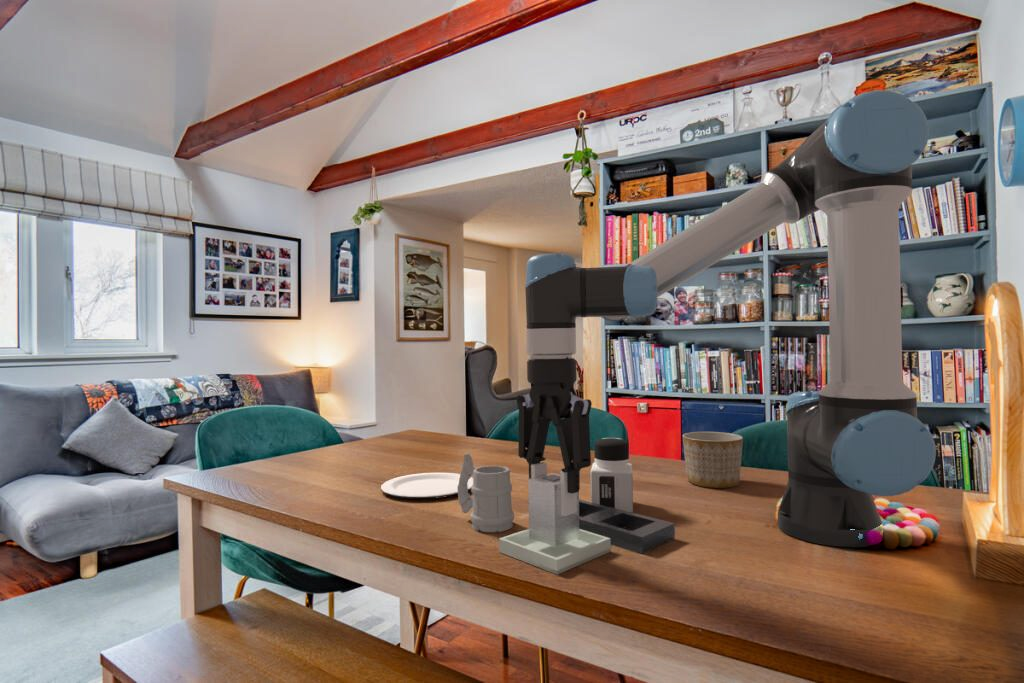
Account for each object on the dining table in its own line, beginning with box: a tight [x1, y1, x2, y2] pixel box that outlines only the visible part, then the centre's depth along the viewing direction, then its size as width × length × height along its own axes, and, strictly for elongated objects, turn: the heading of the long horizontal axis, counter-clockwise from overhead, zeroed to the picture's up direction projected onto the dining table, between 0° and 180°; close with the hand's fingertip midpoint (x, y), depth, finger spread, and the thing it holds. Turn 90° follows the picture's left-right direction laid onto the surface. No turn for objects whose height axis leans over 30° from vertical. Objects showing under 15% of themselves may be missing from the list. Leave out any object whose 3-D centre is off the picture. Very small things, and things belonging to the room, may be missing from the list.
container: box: [589, 437, 634, 513], centre depth 109 cm, size 8×8×13 cm
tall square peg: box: [527, 472, 580, 547], centre depth 86 cm, size 5×5×9 cm
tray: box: [498, 528, 612, 575], centre depth 86 cm, size 12×12×2 cm
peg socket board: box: [579, 499, 676, 555], centre depth 96 cm, size 24×9×2 cm, turn 43°
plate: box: [380, 472, 473, 499], centre depth 124 cm, size 21×21×2 cm
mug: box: [457, 452, 515, 533], centre depth 100 cm, size 8×12×12 cm, turn 52°
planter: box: [682, 431, 744, 489], centre depth 125 cm, size 13×13×10 cm
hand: (553, 509), depth 86 cm, fingers closed on tall square peg, 5 cm apart
